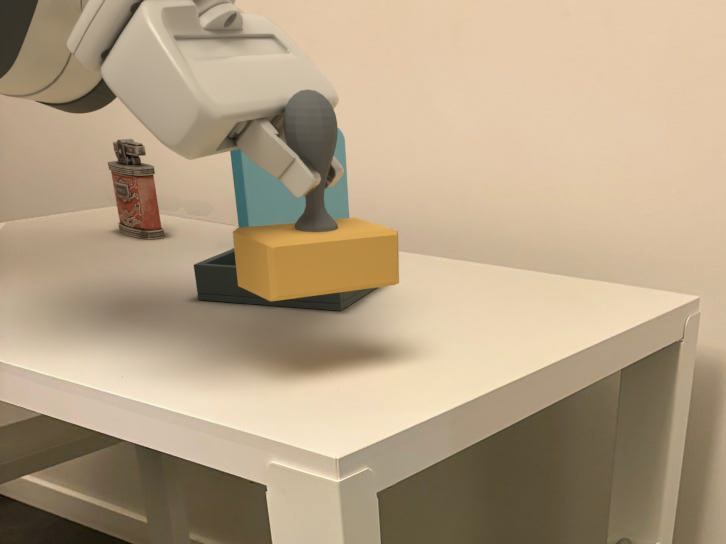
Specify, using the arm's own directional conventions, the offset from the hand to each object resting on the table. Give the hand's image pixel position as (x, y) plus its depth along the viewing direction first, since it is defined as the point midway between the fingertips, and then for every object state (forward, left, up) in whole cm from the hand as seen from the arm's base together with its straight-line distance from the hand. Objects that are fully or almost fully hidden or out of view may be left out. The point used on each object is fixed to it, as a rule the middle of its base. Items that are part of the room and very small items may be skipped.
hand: (323, 185), depth 65 cm
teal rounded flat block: (+22, +46, -13) cm, 53 cm away
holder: (+9, +23, -12) cm, 28 cm away
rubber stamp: (0, +1, -7) cm, 7 cm away
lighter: (+9, +60, -13) cm, 62 cm away
